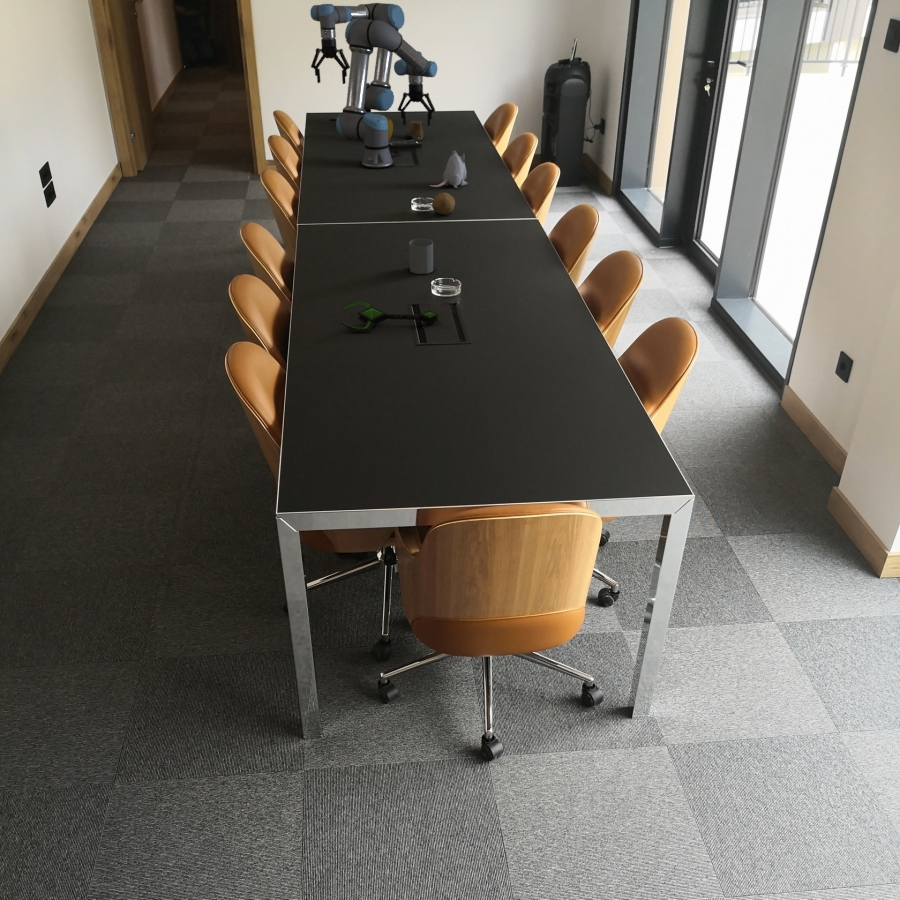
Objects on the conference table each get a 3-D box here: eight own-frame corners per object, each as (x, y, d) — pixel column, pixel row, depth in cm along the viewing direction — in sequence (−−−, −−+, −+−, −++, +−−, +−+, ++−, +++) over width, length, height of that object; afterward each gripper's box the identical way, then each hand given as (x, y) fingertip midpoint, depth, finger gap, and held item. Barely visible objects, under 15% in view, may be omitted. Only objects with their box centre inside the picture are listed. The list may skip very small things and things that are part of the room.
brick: (409, 140, 472) (409, 122, 467) (412, 137, 477) (412, 120, 473) (420, 140, 471) (420, 123, 466) (423, 137, 476) (423, 120, 472)
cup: (409, 265, 311) (408, 238, 306) (432, 265, 312) (431, 238, 307) (410, 274, 304) (409, 246, 299) (433, 273, 305) (433, 246, 299)
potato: (453, 208, 369) (453, 189, 365) (456, 218, 357) (456, 199, 353) (431, 208, 368) (430, 189, 364) (432, 218, 356) (432, 199, 352)
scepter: (438, 296, 270) (341, 293, 268) (439, 326, 263) (340, 324, 261) (437, 309, 275) (342, 306, 273) (438, 339, 268) (341, 337, 266)
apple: (392, 144, 462) (391, 119, 455) (372, 144, 462) (371, 119, 455) (394, 139, 471) (393, 115, 464) (374, 139, 471) (373, 115, 464)
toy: (472, 184, 399) (472, 151, 391) (436, 195, 384) (436, 161, 376) (457, 180, 404) (458, 147, 396) (422, 191, 389) (421, 157, 381)
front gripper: (391, 83, 458) (392, 125, 470) (437, 85, 454) (437, 127, 465) (394, 81, 464) (396, 122, 476) (440, 82, 460) (440, 124, 472)
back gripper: (302, 38, 438) (306, 83, 450) (350, 40, 434) (352, 85, 446) (307, 36, 445) (311, 80, 456) (354, 38, 440) (356, 82, 452)
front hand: (416, 125), depth 471 cm, fingers open, 13 cm apart
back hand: (331, 83), depth 451 cm, fingers open, 13 cm apart
